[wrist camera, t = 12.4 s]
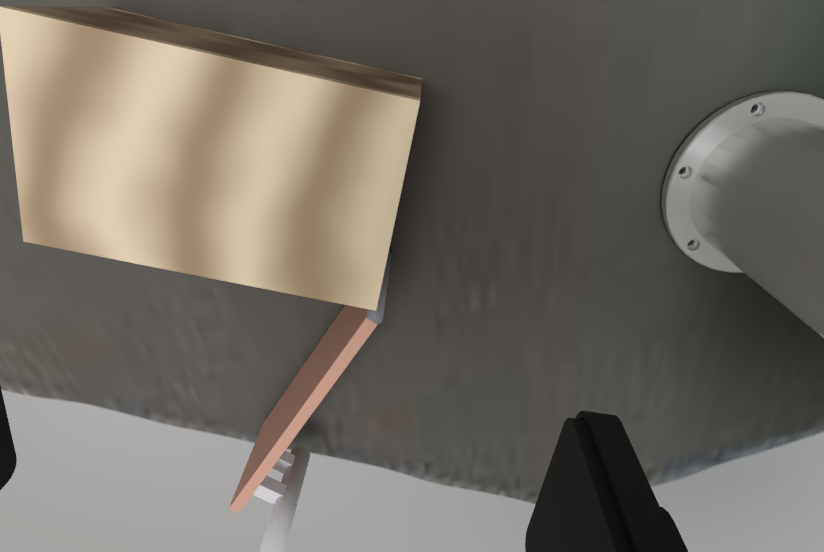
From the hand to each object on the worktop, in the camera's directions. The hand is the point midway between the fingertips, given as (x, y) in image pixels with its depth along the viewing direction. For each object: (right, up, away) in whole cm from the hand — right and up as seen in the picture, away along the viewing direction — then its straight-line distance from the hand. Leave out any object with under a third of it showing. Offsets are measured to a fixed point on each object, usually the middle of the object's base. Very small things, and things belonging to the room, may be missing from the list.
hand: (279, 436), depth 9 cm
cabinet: (-8, +12, +28) cm, 32 cm away
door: (-4, -4, +36) cm, 36 cm away
